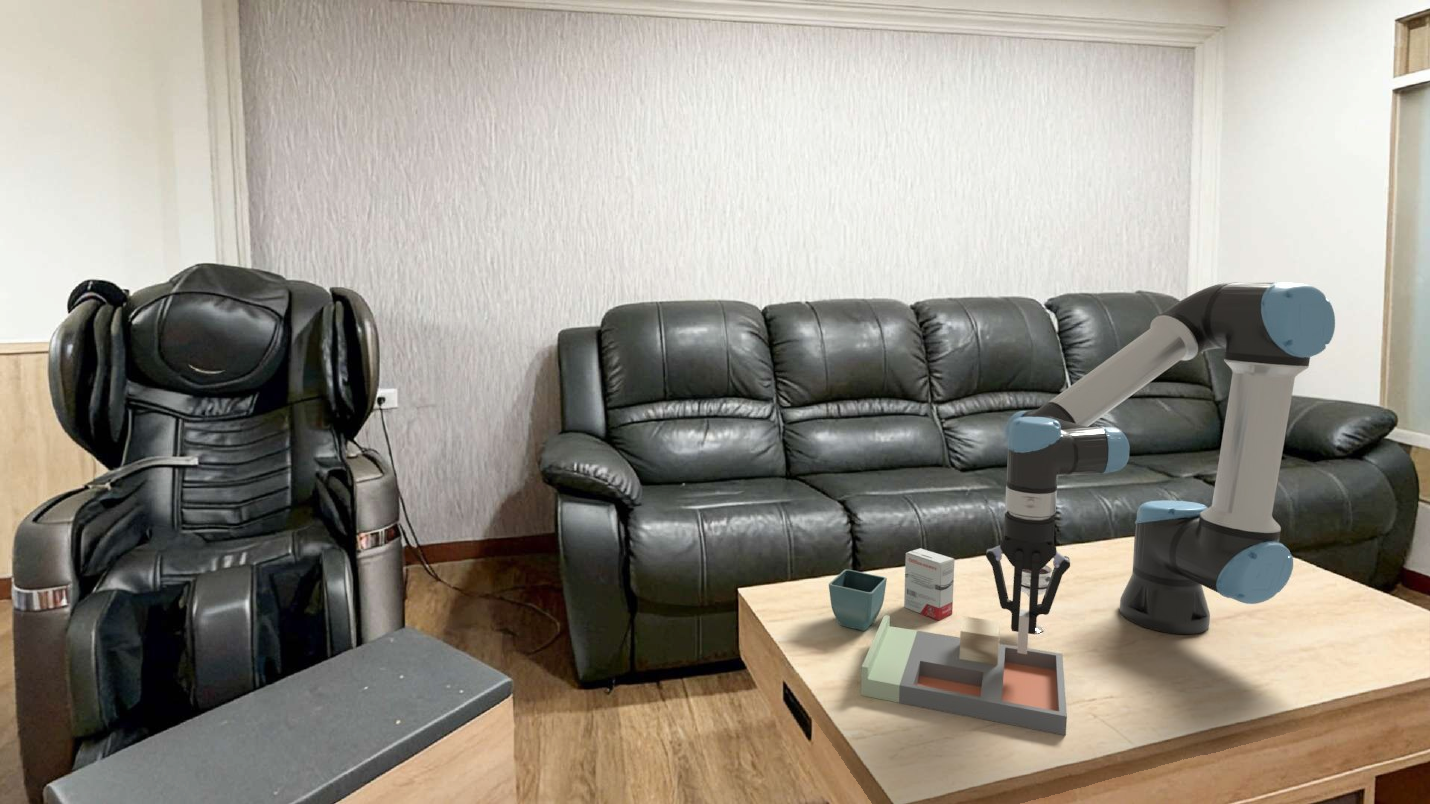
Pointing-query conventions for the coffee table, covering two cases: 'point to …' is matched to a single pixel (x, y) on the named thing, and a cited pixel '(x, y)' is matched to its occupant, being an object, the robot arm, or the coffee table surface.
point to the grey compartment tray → (966, 679)
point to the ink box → (929, 583)
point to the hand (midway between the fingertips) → (1022, 649)
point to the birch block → (979, 640)
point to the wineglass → (1043, 583)
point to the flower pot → (857, 598)
